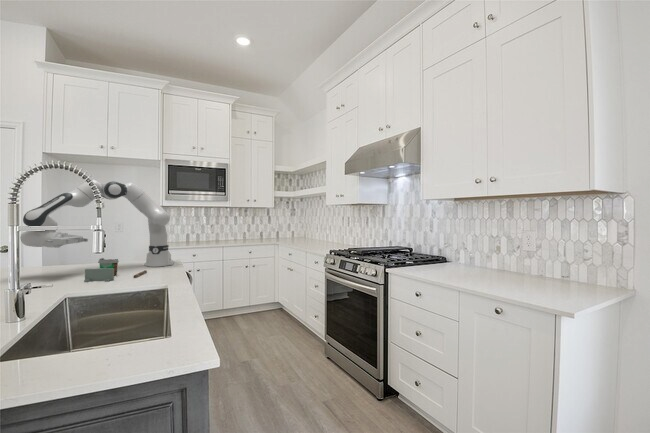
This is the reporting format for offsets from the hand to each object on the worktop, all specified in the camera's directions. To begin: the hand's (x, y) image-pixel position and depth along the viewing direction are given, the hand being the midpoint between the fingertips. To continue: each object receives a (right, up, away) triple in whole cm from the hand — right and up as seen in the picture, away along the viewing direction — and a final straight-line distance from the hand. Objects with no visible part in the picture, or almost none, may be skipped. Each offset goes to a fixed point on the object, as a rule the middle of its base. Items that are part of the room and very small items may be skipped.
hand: (82, 240), depth 184 cm
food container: (+12, -21, +3) cm, 24 cm away
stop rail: (+30, -21, +6) cm, 37 cm away
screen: (+17, -21, -11) cm, 29 cm away
